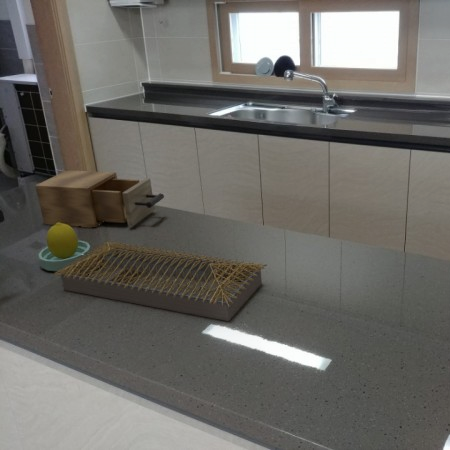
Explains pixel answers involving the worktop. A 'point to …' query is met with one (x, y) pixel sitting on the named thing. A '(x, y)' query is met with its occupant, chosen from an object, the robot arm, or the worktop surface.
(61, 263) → the bowl
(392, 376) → the worktop surface
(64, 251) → the lemon
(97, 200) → the drawer
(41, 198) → the cabinet
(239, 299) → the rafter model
